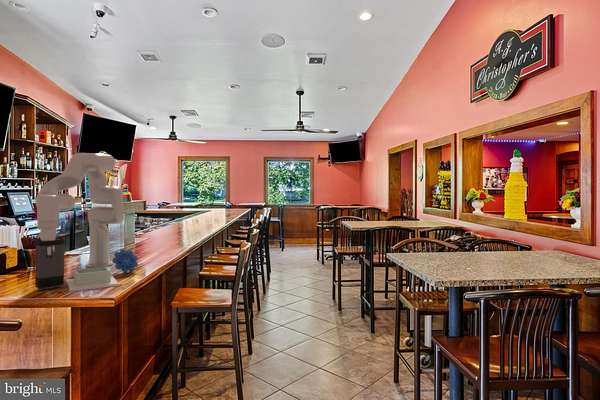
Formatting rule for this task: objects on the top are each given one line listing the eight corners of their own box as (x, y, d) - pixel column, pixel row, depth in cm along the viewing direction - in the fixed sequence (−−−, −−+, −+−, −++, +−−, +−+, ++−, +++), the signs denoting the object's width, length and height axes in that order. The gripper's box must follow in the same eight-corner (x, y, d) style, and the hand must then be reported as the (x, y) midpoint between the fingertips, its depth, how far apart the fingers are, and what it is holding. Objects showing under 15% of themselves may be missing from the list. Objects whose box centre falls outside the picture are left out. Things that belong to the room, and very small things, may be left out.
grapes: (112, 275, 178) (112, 250, 178) (112, 272, 184) (112, 248, 184) (138, 273, 183) (138, 249, 183) (137, 270, 189) (138, 247, 189)
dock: (66, 281, 165) (66, 268, 165) (111, 276, 176) (111, 264, 175) (69, 291, 150) (69, 276, 150) (118, 285, 161) (118, 271, 161)
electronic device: (59, 282, 159) (61, 236, 157) (64, 286, 156) (66, 239, 153) (33, 286, 152) (35, 238, 150) (38, 290, 149) (39, 241, 146)
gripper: (37, 222, 158) (37, 265, 159) (37, 227, 144) (37, 274, 145) (58, 222, 162) (58, 263, 163) (60, 226, 148) (60, 272, 149)
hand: (48, 268), depth 154 cm, fingers closed on electronic device, 4 cm apart
